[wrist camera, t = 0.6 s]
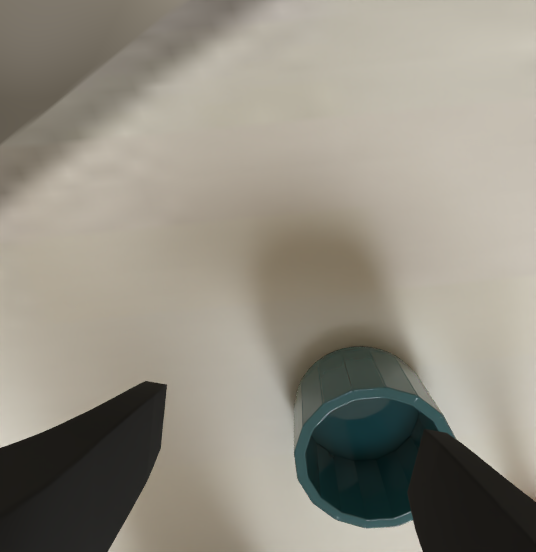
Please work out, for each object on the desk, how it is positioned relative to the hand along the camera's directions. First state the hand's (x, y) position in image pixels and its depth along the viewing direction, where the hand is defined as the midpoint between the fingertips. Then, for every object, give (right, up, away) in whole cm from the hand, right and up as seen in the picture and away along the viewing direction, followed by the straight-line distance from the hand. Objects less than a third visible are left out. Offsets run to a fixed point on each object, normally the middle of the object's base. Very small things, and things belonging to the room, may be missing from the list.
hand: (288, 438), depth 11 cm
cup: (+4, -3, +11) cm, 12 cm away
